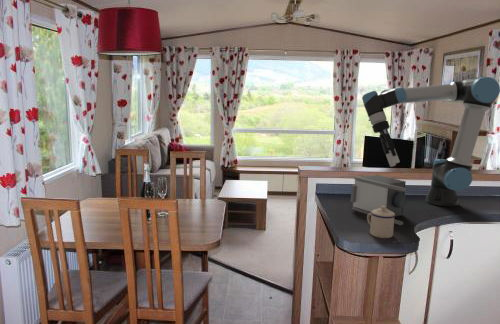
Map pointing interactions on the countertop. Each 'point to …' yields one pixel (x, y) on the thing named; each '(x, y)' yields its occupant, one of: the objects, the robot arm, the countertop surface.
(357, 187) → the side door
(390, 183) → the small gray cabinet
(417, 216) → the countertop surface
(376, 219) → the teacup with lid
